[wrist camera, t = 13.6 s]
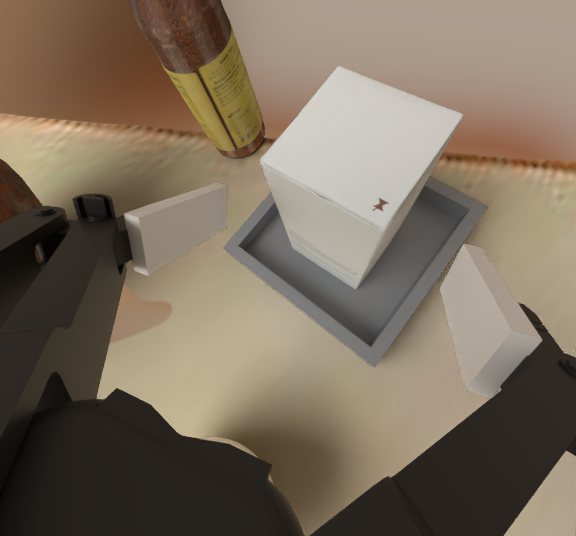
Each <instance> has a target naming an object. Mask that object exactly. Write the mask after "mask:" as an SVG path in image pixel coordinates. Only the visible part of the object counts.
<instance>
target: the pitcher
mask: <svg viewBox="0 0 576 536" xmlns="http://www.w3.org/2000/svg"><path fill="white" fill-rule="evenodd" d="M40 206H42V204H41V203H40V201H39V200H38V199H37V197H36V196H35V195H34V193H33V192H32V191H31V190H30V188H29V187H28V186H27V184H26V183H25V182H24V180H23V179H22V178H21V177H20V176H19V175H18V174H17V173H16V172H15V171H14V170H13V169H12V168H11V167H10V166H9V165H8V164H7V163H6V162H4V161H3V160H1V159H0V223H2V222H5V221H7V220H9V219H11V218H13V217H15V216H17V215H19V214H21V213H23V212H25V211H27V210H30V209H34V208H37V207H40ZM35 256H36V258H37V261H39V260H40V259H41V258H40V256H39V253H38V251H37V248H35Z"/></svg>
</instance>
